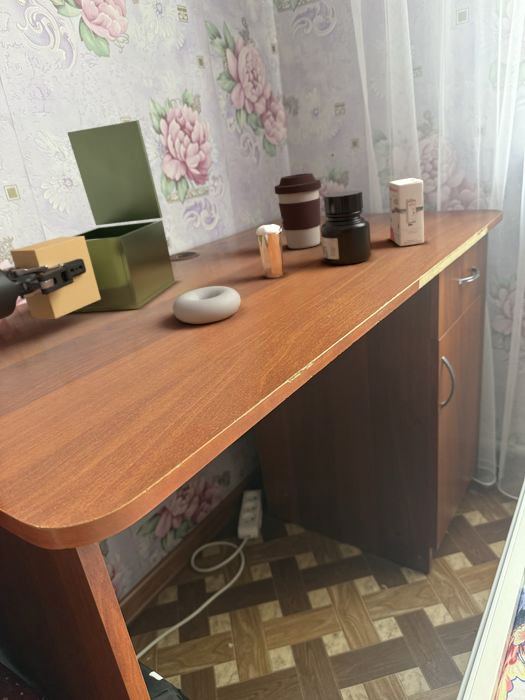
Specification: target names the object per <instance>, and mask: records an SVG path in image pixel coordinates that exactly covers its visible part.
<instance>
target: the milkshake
mask: <svg viewBox="0 0 525 700" xmlns="http://www.w3.org/2000/svg"><path fill="white" fill-rule="evenodd" d="M282 222H283V219H282V218H281V222H280V225H278V224H275V223H272V224H263V225H261V226H259V227H258V228H257V229H256V231H255V235H256V239H257V240H256V241H257V243H258V247H259V253H260V257H261V262H262V267H263V273H264V276H265V278H267V279H276V278H280V277H283V276H284V256H283V230H282V228H283V223H282Z"/></svg>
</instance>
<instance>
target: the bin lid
mask: <svg viewBox="0 0 525 700" xmlns="http://www.w3.org/2000/svg"><path fill="white" fill-rule="evenodd" d="M67 136H68V138H69V139H68V140H69V142H70V143H69V144H70V147H71V150H72V153H73V156H74V159H75V162H76V165H77V169H78V172H79V175H80V178H81V181H82V185H83V188H84V190H85V194H86V198H87V201H88V204H89V207H90V211H91V214H92V218H93V220H94V223H95V226H103V225H112V224H121V223H130V222H131V223H132V222H138V221H147V220H157V219H162V218H163V212H162V210H161V206H160V201H159V197H158V193H157V190H156V189H157V188H156V185H155V181H154V177H153V173H152V168H151V164H150V160H149V156H148V153H147V148H146V145H145V140H144V136H143V132H142V128H141V124H140V121H139V119H137V120H131V121H125V122H119V123H114V124H108V125H107V124H106V125H103V126H96V127H90V128H85V129H79V130H73V131H68V132H67Z"/></svg>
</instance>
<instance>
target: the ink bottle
mask: <svg viewBox="0 0 525 700" xmlns="http://www.w3.org/2000/svg"><path fill="white" fill-rule="evenodd" d="M363 201H364V200H363V191H362V190H346V191H338V192H332V193H327V194H324V195H323V205H324V213H325V215H324V216H325V217H326V218H327V219H326V220H325V221H324V223H323V224H322V225H321V227H320V238H321V246H322V247H321V248H322V258H323V261H324V263H326V264H328V265H335V266H336V265H337V266H339V265H351V264H357V263H362V262H365V261H367V260H369V259H370V258H371V257H372V246H371V245H372V243H371V242H372V241H371V224H370V222H369V220H368V219H367V218H365V217H364V216H363V215H362V214H363V212H364V202H363Z"/></svg>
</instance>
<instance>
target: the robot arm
mask: <svg viewBox="0 0 525 700" xmlns="http://www.w3.org/2000/svg"><path fill="white" fill-rule="evenodd" d="M36 271H42V272H43V273H42V274H40V275H39V274H38V273H37V272H36ZM85 272H86V268H85V264H84V261H83V259H75V260H72V261H69V262H66V263H63V264H58V265H55V266H52V267H49V268H48V267H47V266H45V265H43V266H40V267H31V268H27V269H24V268H20V267H15V265H14V266H11V267H7V268H3V269H1V268H0V320H3V319H5V318H8V317H10V316H11V315H13V313H15V310H16V308H17V301H18V299H19V298H20V299H21V300H22V299H24V300H25V298H28V297H32V296H34V294H36V293H40V292H42V294H43V295H44V294H45V295H48V294H49V293H51V292H54V291H56V290H58V289H60V288H62V287H65V286H67V285H69V284H72V283H73V282H74V281H73V277H75V276H78V275H81V274H84V273H85Z"/></svg>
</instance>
